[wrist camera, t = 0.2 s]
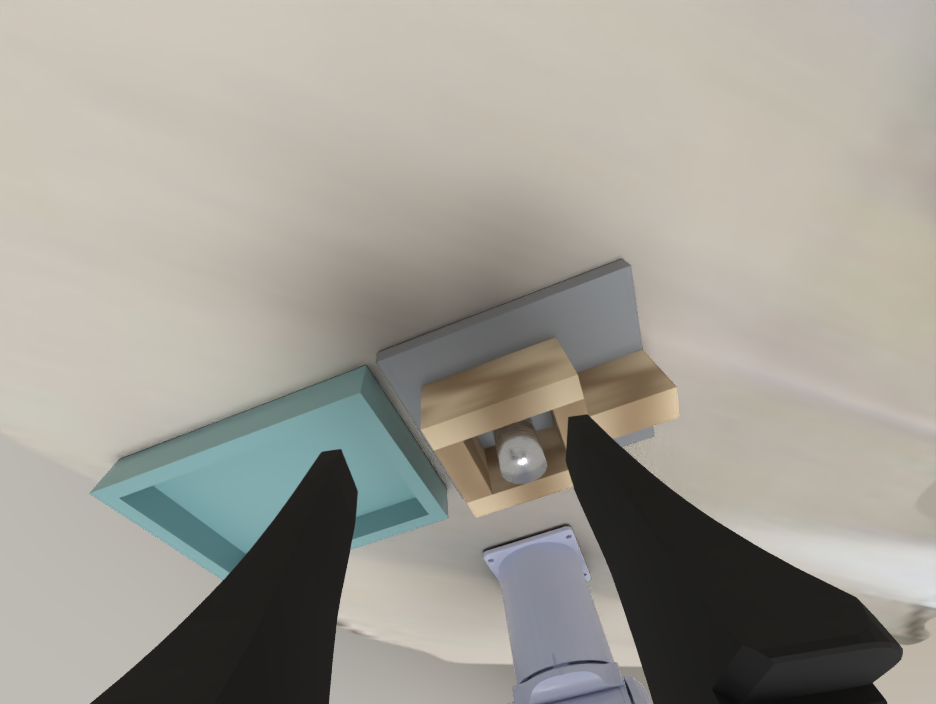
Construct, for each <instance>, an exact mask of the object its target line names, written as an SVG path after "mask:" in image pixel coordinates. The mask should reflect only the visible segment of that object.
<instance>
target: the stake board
mask: <svg viewBox="0 0 936 704" xmlns="http://www.w3.org/2000/svg"><path fill="white" fill-rule="evenodd" d="M555 337H556V338H557V340H558V342H559V343H560V345H561V347H562V349H563V350H564V352H565V354H566V355H567V357H568V359H569V360H570V362H571V364H572V366H573V367H574V369H575V371H576V372H577V373H578V372H581V371H583V370H586V369H589V368H592V367H595V366H598V365H600V364H603V363H606V362H609V361H612V360H615V359H617V358H620V357H623V356H626V355H629V354H632V353H634V352H637V351H640V350H643V349H642V342H641V334H640V327H639V320H638V312H637V305H636V298H635V291H634V283H633V276H632V269H631V265H630V264H629V263H627V262H626V261H625V260H623V259H620V260H618V261H615V262H612V263H610V264H607V265H605V266H602V267H599V268H597V269H594V270H592V271H589V272H586V273H584V274H581V275H578V276H576V277H573V278H571V279H568V280H565V281H563V282H560V283H558V284H555V285H552V286H550V287H547V288H545V289H542V290H539V291H537V292H534V293H532V294H529V295H526V296H524V297H521V298H519V299H516V300H513V301H511V302H508V303H505V304H503V305H500V306H498V307H495V308H492V309H490V310H487V311H485V312H482V313H479V314H477V315H474V316H472V317H469V318H466V319H464V320H461V321H459V322H456V323H453V324H451V325H448V326H445V327H443V328H440V329H438V330H435V331H432V332H430V333H427V334H425V335H422V336H419V337H417V338H414V339H412V340H409V341H406V342H404V343H401V344H399V345H396V346H393V347H391V348H388V349H386V350H383V351H380V352H378V355H377V360H376V363H377V365H378V366H379V368H380V369H381V371H382V372H383V374H384V376H385V377H386V379H387V380H388V382H389V383H390V385H391V387H392V388H393V390H394V391H395V393H396V394H397V396H398V398H399V399H400V401H401V402H402V404H403V406H404V407H405V409H406V410H407V412H408V413H409V415H410V417H411V418H412V420H413V421H414V423H415V424H416V426H417V428H418V429H419V431H420V432H421V434H422V435H423V433H422V431H421V386H424V385H427V384H429V383H432V382H435V381H438V380H440V379H443V378H446V377H448V376H451V375H454V374H457V373H459V372H462V371H465V370H467V369H470V368H473V367H476V366H478V365H481V364H484V363H487V362H489V361H492V360H495V359H497V358H500V357H503V356H506V355H508V354H511V353H514V352H516V351H519V350H522V349H525V348H527V347H530V346H533V345H536V344H538V343H541V342H544V341H546V340H549V339H552V338H555ZM551 426H554V422H553V419H552V416H551V413H550V411H547V412H544V413H541V414H538V415H536V416H533V417H530V418H527V419H524V420H521V421H518V422H515V423H512V424H510V425H507V426H504V427H501V428H498V429H495V430H492V431H489V432H486V433H483V434H481V435H478V438H479V440H480V442H481V444H482V445H483V447H484V449H486V448H489V447H492V446H496V451H497V455H498V460H499V465H500V469H501V474H502V476H503V478H504V479H505V480H506V481H508V482H510V483H514V484H526V483H530V482H533V481H535V480H537V479H538V478H540V477H541V476H542V475H543V474H544V473H545V471H546V469H547V462H546V459H545V456H544V453H543V450H542V447H541V444H540V442H539V439H538V436H537V433H536V431H539V430H542V429H545V428H548V427H551ZM423 437H424V439H425V440H426V442H427V443H428V445H429V447H430V448H431V450H432V451H433V453H434V454H435V452H434V450H433V449H432V447H431V446H430V444H429V442H428V441H427V439H426V438H425V436H424V435H423ZM651 437H654V429H653V426H651V427H648V428H645V429H642V430H639V431H636V432H633V433H630V434H627V435H624V436H621V437H618V438H615V439H614V440H615V441H616V442H617V443H618V444H619V445H620V446H621V447H623V446H626V445H629V444H632V443H636V442H639V441H642V440H645V439H648V438H651ZM435 456H436V458H437V459H438V461H439V462H440V460H439V458H438V457H437V455H436V454H435ZM440 464H441V465H442V463H441V462H440ZM442 467H443V469H444V470H445V472H446V473H447V471H446V469H445V468H444V466H443V465H442ZM447 475H448V476H449V474H448V473H447ZM449 478H450V480H451V481H452V479H451V477H450V476H449ZM452 483H453V484H454V482H453V481H452ZM454 486H455V488H456V489H457V491H458V492H459V490H458V488H457V487H456V485H455V484H454ZM459 494H460V495H461V493H460V492H459ZM461 497H462V499H464V498H463V496H462V495H461Z"/></svg>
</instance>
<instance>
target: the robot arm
mask: <svg viewBox="0 0 936 704" xmlns="http://www.w3.org/2000/svg"><path fill="white" fill-rule="evenodd" d="M566 464H567V468H568V471H569V474H570V477H571V480H572V483H573V487H574V490H575V492H576V495H577V497H578V499H579V501H580V504H581V506H582V508H583V510H584V513H585V515H586V517H587V519H588V522H589V524H590V526H591V528H592V530H593V533H594V535H595V537H596V539H597V542H598V544H599V546H600V548H601V550H602V553H603V555H604V557H605V559H606V562H607V564H608V567H609V569H610V572H611V574H612V577H613V580H614V583H615V586H616V588H617V591H618V594H619V597H620V600H621V603H622V606H623V609H624V612H625V615H626V618H627V621H628V624H629V627H630V630H631V633H632V636H633V639H634V642H635V645H636V648H637V651H638V655H639V658H640V661H641V664H642V667H643V671H644V674H645V677H646V680H647V683H648V687H649V690H650V693H651V697H652V700H653V703H654V704H887V701H886V700H885V698H884V697H883V696H882V695H881V693H880V692H879V691H878V689H877V688H876V687H875V686H874V685H873V682H874V681H875V680H877V679H878V678H879V677H881V676H882V675H883V674H884V673H886V672H887V671H889V670H890V669H891V668H892V667H894V666H895V665H896V664H897V663H898V662H899V661H900V660H901V658H902V654H903V649H902V647H901V646H900V645H899V643H898V642H897V641H896V640H895V639H894V638H893V637H892V635H891V634H890V633H889V632H888V631H887V630H886V629H885V628H884V626H883V625H882V624H881V623H880V622H879V621H878V620H877V618H876V617H875V616H874V615H873V614H872V613H871V612H870V611H869V610H868V609H867V608H866V607H865V606H864V605H863V604H862V603H861V602H860V601H859V600H858V599H857V597H854V596H852V595H850V594H848V593H846V592H844V591H842V590H840V589H838V588H836V587H834V586H832V585H830V584H828V583H826V582H824V581H822V580H820V579H818V578H816V577H814V576H812V575H810V574H808V573H806V572H804V571H802V570H800V569H798V568H796V567H794V566H792V565H790V564H789V563H787V562H785V561H783V560H781V559H779V558H778V557H776V556H774V555H772V554H770V553H768V552H767V551H765V550H763V549H761V548H760V547H758V546H756V545H754V544H753V543H751V542H749V541H748V540H746V539H745V538H743V537H741V536H740V535H738V534H736V533H735V532H733V531H731V530H730V529H728V528H727V527H725V526H723V525H722V524H720V523H718V522H717V521H715V520H714V519H712V518H711V517H709V516H708V515H706V514H705V513H703V512H702V511H700V510H699V509H698V508H696V507H695V506H693V505H692V504H691V503H689V502H688V501H686V500H685V499H684V498H682V497H681V496H680V495H678V494H677V493H676V492H674V491H673V490H672V489H670V488H669V487H668V486H667V485H665V484H664V483H663V482H662V481H660V480H659V479H658V478H657V477H655V476H654V475H653V474H652V473H651V472H649V471H648V470H647V469H646V468H645V467H643V466H642V465H641V464H640V463H639V462H638V461H637V460H636V459H634V458H633V457H632V456H631V455H630V454H629V453H628V452H626V451H625V450H624V449H623V448H622V447H621V446H620V445H619V444H618V443H617V442H616V441H615V440H614V439H613V438H612V437H610V436H609V435H608V434H607V433H606V432H605V431H604V430H603V429H602V428H601V427H600V426H599V425H598V424H597V423H596V422H595V421H594V420H593V419H592V418H591V417H590V416H589V415H587V414H585V415H578V416H571V417H568V429H567V445H566ZM357 497H358V490H357V488H356V485H355V482H354V480H353V477H352V475H351V472H350V470H349V467H348V465H347V462H346V460H345V457H344V455H343V452H342V450H341V449H337V450H330V451H323V452H321V453H320V454H319V456H318V457H317V459H316V460H315V462H314V463H313V465H312V466H311V467H310V469H309V470H308V472H307V473H306V475H305V476H304V478H303V479H302V481H301V482H300V484H299V485H298V486H297V488H296V489H295V491H294V492H293V494H292V495H291V496H290V498H289V499H288V501H287V502H286V503H285V505H284V506H283V508H282V509H281V510H280V512H279V513H278V514H277V516H276V517H275V518H274V520H273V521H272V522H271V524H270V525H269V526H268V527H267V529H266V530H265V531H264V533H263V534H262V535H261V536H260V538H259V539H258V540H257V541H256V543H255V544H254V545H253V546H252V548H251V549H250V550H249V551H248V552H247V554H246V555H245V556H244V557H243V558H242V560H241V561H240V562H239V563H238V564H237V565H236V567H235V568H234V569H233V570H232V571H231V572H230V573H229V574H228V575H227V577H226V578H225V579H224V580H223V581H222V582H221V583H220V584H219V585H218V586H217V587H216V588H215V590H214V591H213V592H212V593H211V594H210V595H209V596H208V597H207V598H206V599H205V600H204V601H203V602H202V603H201V604H200V605H199V606H198V607H197V608H196V609H195V610H194V611H193V612H192V613H191V614H190V615H189V616H188V617H187V618H186V619H185V620H184V621H183V622H182V623H181V624H180V625H179V626H178V627H177V628H176V629H175V630H174V631H173V632H171V633H170V634H169V635H168V636H167V637H166V638H165V639H164V640H163V641H162V642H161V643H160V644H159V645H158V646H157V647H155V648H154V649H153V650H152V651H151V652H150V653H149V654H148V655H146V656H145V657H144V658H143V659H142V660H141V661H140V662H139V663H138V664H136V665H135V666H134V667H133V668H132V669H131V670H130V671H128V672H127V673H126V674H125V675H124V676H123V677H121V678H120V679H119V680H118V681H117V682H115V683H114V684H113V685H112V686H111V687H109V688H108V689H107V690H106V691H105V692H103V693H102V694H101V695H100V696H99V697H98V698H96V699H95V700H94V701H93V702H91V703H90V704H329V695H330V684H331V673H332V662H333V651H334V643H335V634H336V625H337V616H338V610H339V604H340V598H341V593H342V588H343V583H344V578H345V573H346V568H347V564H348V559H349V554H350V549H351V544H352V539H353V534H354V528H355V522H356V511H357ZM483 559H484V560H485V562H486V563H487V565H488V566H489V568H490V569H491V570H492V572H493V573H494V575H495V576H496V578H497V579H498V581H499V582H500V584H501V590H502V596H503V602H504V608H505V614H506V620H507V627H508V633H509V639H510V645H511V651H512V657H513V663H514V669H515V675H516V681H517V685H516V686H513V687H512V690H513V697H514V702H512V703H509V704H652V703H651V700H650V698H649V696H648V694H647V692H646V690H645V688H644V686H643V685H642V684H641V683H640V682H638V681H637V680H635V679H634V677H633V676H632V675H627V676H624V681H625V684H624V681H623V678H622V675H621V672H620V670H619V667H618V664H617V663H616V662H614V660H613V657H612V654H611V651H610V648H609V645H608V642H607V640H606V637H605V634H604V631H603V628H602V625H601V622H600V619H599V616H598V614H597V611H596V608H595V605H594V602H593V599H592V596H591V593H590V590H589V588H588V585H587V582H588V581H590V580H591V576H590V573H589V571H588V568H587V566H586V563H585V561H584V558H583V555H582V553H581V550H580V548H579V545H578V543H577V540H576V538H575V535H574V532H573V530H572V528H571V527H569V526H565V527H562V528H559V529H555V530H552V531H549V532H546V533H542V534H539V535H536V536H533V537H529V538H526V539H523V540H520V541H516V542H513V543H510V544H507V545H503V546H500V547H497V548H494V549H490V550H487V551H485V552H484V553H483ZM625 685H626V687H625Z"/></svg>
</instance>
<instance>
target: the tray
mask: <svg viewBox="0 0 936 704" xmlns="http://www.w3.org/2000/svg"><path fill="white" fill-rule="evenodd" d="M337 449H341V450H342V452H343V455H344V457H345V460H346V462H347V465H348V467H349V470H350V472H351V475H352V477H353V480H354V482H355V485H356V488H357V490H358V497H357V511H356V522H355V528H354V534H353V539H352V544H351V549H354V548H357V547H360V546H364V545H367V544H370V543H373V542H376V541H379V540H382V539H385V538H388V537H391V536H395V535H398V534H401V533H404V532H407V531H410V530H413V529H416V528H419V527H423V526H426V525H429V524H432V523H435V522H438V521H441V520H444V519H447V518H448V503H447V488H446V486H445V484H444V483H443V481H442V480H441V478H440V477H439V475H438V474H437V472H436V471H435V469H434V468H433V466H432V465H431V463H430V462H429V460H428V459H427V457H426V456H425V454H424V452H423V451H422V449H421V448H420V446H419V445H418V443H417V442H416V440H415V439H414V437H413V436H412V434H411V433H410V431H409V430H408V428H407V427H406V425H405V423H404V422H403V420H402V419H401V417H400V416H399V414H398V413H397V411H396V410H395V408H394V407H393V405H392V404H391V402H390V401H389V399H388V398H387V396H386V395H385V393H384V391H383V390H382V388H381V387H380V385H379V384H378V382H377V381H376V379H375V378H374V376H373V375H372V373H371V372H370V370H369V369H368V367H367V366H363V367H360V368H358V369H355V370H352V371H350V372H347V373H345V374H342V375H339V376H337V377H334V378H331V379H329V380H326V381H324V382H321V383H318V384H316V385H313V386H310V387H308V388H305V389H303V390H300V391H297V392H295V393H292V394H289V395H287V396H284V397H282V398H279V399H276V400H274V401H271V402H268V403H266V404H263V405H261V406H258V407H255V408H253V409H250V410H247V411H245V412H242V413H240V414H237V415H234V416H232V417H229V418H226V419H224V420H221V421H219V422H216V423H213V424H211V425H208V426H205V427H203V428H200V429H198V430H195V431H192V432H190V433H187V434H184V435H182V436H179V437H177V438H174V439H171V440H169V441H166V442H163V443H161V444H158V445H156V446H153V447H150V448H148V449H145V450H142V451H140V452H137V453H134V454H132V455H129V456H127V457H124V458H121V459H119V460H118V461H117V462H116V464H115V465H114V466H113V467H112V468H111V469H110V470H109V472H108V473H107V474H106V475H105V476H104V477H103V478H102V480H101V481H100V482H99V483H98V484H97V485H96V486H95V488H94V489H93V490H92V491H91V492H90V494H91V495H92V496H94V497H95V498H97V499H98V500H100V501H102V502H103V503H105V504H106V505H108V506H109V507H111V508H112V509H114V510H115V511H117V512H118V513H120V514H122V515H123V516H125V517H126V518H128V519H129V520H131V521H132V522H134V523H135V524H137V525H138V526H140V527H142V528H143V529H145V530H146V531H148V532H149V533H151V534H152V535H154V536H155V537H157V538H159V539H160V540H162V541H163V542H165V543H167V544H168V545H170V546H171V547H172V548H174V549H175V550H177V551H179V552H180V553H182V554H183V555H185V556H186V557H188V558H189V559H191V560H193V561H194V562H195V563H197V564H199V565H200V566H202V567H203V568H205V569H206V570H208V571H209V572H211V573H212V574H214V575H216V576H217V577H219V578H220V579H222V580H224V579H225V578H226V577H227V575H228V574H229V573H230V572H231V571H232V570H233V569H234V568H235V567H236V565H237V564H238V563H239V562H240V561H241V560H242V558H243V557H244V556H245V555H246V554H247V552H248V551H249V550H250V549H251V548H252V546H253V545H254V544H255V543H256V541H257V540H258V539H259V538H260V536H261V535H262V534H263V533H264V531H265V530H266V529H267V527H268V526H269V525H270V524H271V522H272V521H273V520H274V518H275V517H276V516H277V514H278V513H279V512H280V510H281V509H282V508H283V506H284V505H285V503H286V502H287V501H288V499H289V498H290V496H291V495H292V494H293V492H294V491H295V489H296V488H297V486H298V485H299V484H300V482H301V481H302V479H303V478H304V476H305V475H306V473H307V472H308V470H309V469H310V467H311V466H312V465H313V463H314V462H315V460H316V459H317V457H318V456H319V454H320V453H321V452H323V451H330V450H337ZM351 549H350V550H351Z"/></svg>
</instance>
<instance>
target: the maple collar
mask: <svg viewBox="0 0 936 704" xmlns="http://www.w3.org/2000/svg"><path fill="white" fill-rule="evenodd" d="M547 411H550V413H551V416H552V419H553V422H554V426H551V427H548V428H545V429H542V430H539V431H536V433H537V436H538V439H539V442H540V444H541V447H542V450H543V453H544V456H545V459H546V462H547V469H546V471H545V473H544V474H543V475H542V476H541V477H540V478H538V479H537V480H535V481H533V482H530V483H526V484H514V483H510V482H508V481H506V480H505V479H504V478H503V476H502V474H501V469H500V465H499V460H498V455H497V451H496V446H492V447H489V448H486V449H484V447H483V445H482V444H481V442H480V440H479V438H478V435H481V434H483V433H486V432H489V431H492V430H495V429H498V428H501V427H504V426H507V425H510V424H512V423H515V422H518V421H521V420H524V419H527V418H530V417H533V416H536V415H538V414H541V413H544V412H547ZM585 414H587V415H589V416H590V417H591V418H592V419H593V420H594V421H595V422H596V423H597V424H598V425H599V426H600V427H601V428H602V429H603V430H604V431H605V432H606V433H607V434H608V435H609V436H610V437H612V438H613V439H615V438H618V437H621V436H624V435H627V434H630V433H633V432H636V431H639V430H642V429H645V428H648V427H651V426H654V425H657V424H660V423H663V422H666V421H669V420H672V419H675V418H678V417H679V406H678V394H677V386H676V385H675V384H674V383H673V382H672V381H671V380H670V379H669V378H668V377H667V376H666V374H665V373H664V372H663V371H662V370H661V369H660V368H659V367H658V366H657V365H656V364H655V363H654V361H653V360H652V359H651V358H650V357H649V356H648V355H647V354H646V353H645V352H644V351H643V350H640V351H637V352H634V353H632V354H629V355H626V356H623V357H620V358H617V359H615V360H612V361H609V362H606V363H603V364H600V365H598V366H595V367H592V368H589V369H586V370H583V371H581V372H578V373H577V372H576V371H575V369H574V367H573V366H572V364H571V362H570V360H569V359H568V357H567V355H566V354H565V352H564V350H563V349H562V347H561V345H560V343H559V342H558V340H557V338H556V337H555V338H552V339H549V340H546V341H544V342H541V343H538V344H536V345H533V346H530V347H527V348H525V349H522V350H519V351H516V352H514V353H511V354H508V355H506V356H503V357H500V358H497V359H495V360H492V361H489V362H487V363H484V364H481V365H478V366H476V367H473V368H470V369H467V370H465V371H462V372H459V373H457V374H454V375H451V376H448V377H446V378H443V379H440V380H438V381H435V382H432V383H429V384H427V385H424V386H421V431H422V433H423V435H424V436H425V438H426V439H427V441H428V442H429V444H430V446H431V447H432V449H433V450H434V452H435V454H436V455H437V457H438V458H439V460H440V462H441V463H442V465H443V466H444V468H445V469H446V471H447V473H448V474H449V476H450V477H451V479H452V481H453V482H454V484H455V485H456V487H457V488H458V490H459V492H460V493H461V495H462V496H463V498H464V500H465V501H466V503H467V504H468V506H469V507H470V509H471V511H472V512H473V514H474V515H475V517H476V518H477V517H480V516H483V515H487V514H490V513H493V512H496V511H499V510H502V509H505V508H509V507H512V506H515V505H518V504H521V503H524V502H527V501H530V500H534V499H537V498H540V497H543V496H546V495H549V494H552V493H555V492H559V491H562V490H565V489H568V488H571V487H573V483H572V480H571V477H570V474H569V471H568V468H567V464H566V445H567V429H568V417H571V416H578V415H585Z"/></svg>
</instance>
